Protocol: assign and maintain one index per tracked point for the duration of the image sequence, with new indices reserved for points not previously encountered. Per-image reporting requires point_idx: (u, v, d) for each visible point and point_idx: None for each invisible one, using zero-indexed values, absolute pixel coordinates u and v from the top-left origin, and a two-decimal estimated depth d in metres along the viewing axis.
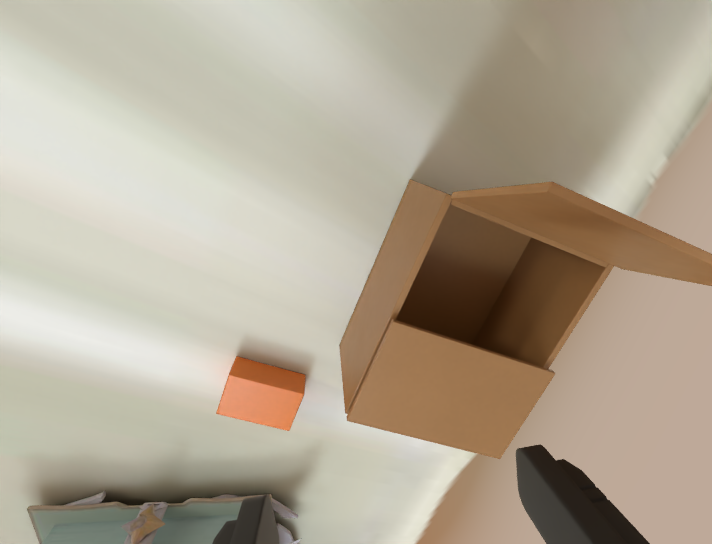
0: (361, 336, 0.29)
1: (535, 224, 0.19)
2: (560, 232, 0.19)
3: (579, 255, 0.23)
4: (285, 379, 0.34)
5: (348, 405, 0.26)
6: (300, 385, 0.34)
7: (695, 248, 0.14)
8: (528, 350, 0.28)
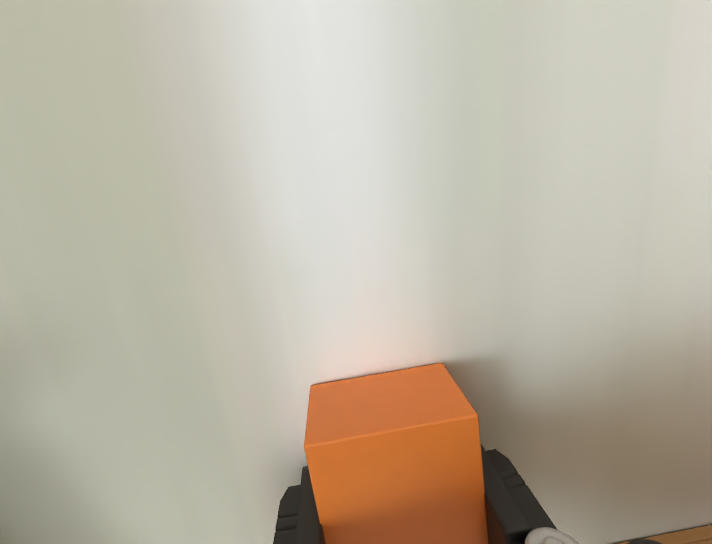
0: None
1: None
2: None
3: None
4: None
5: None
6: None
7: None
8: None
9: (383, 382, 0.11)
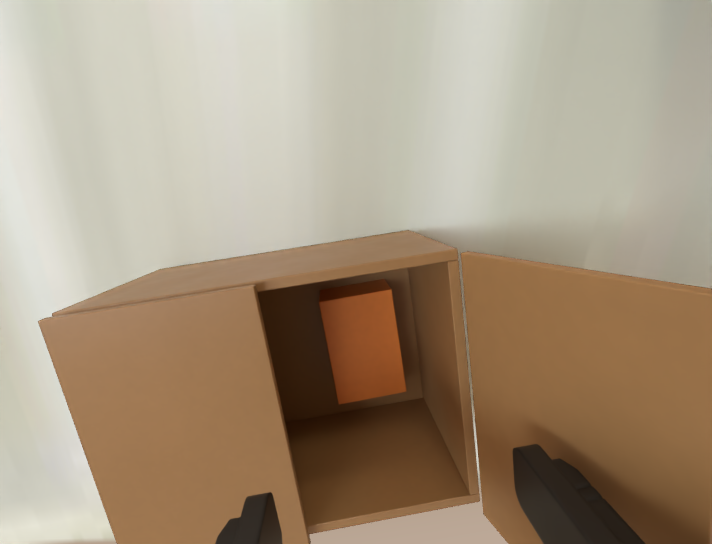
0: (194, 276, 0.19)
1: (510, 368, 0.13)
2: (523, 404, 0.13)
3: (467, 455, 0.17)
4: None
5: (68, 310, 0.15)
6: None
7: None
8: (311, 492, 0.19)
9: (354, 286, 0.24)
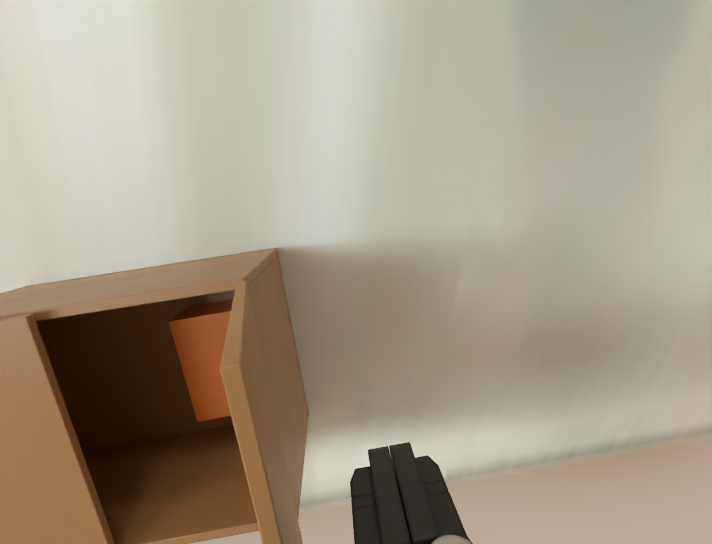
0: (22, 298, 0.19)
1: None
2: None
3: None
4: None
5: None
6: None
7: None
8: (145, 511, 0.20)
9: (218, 303, 0.24)
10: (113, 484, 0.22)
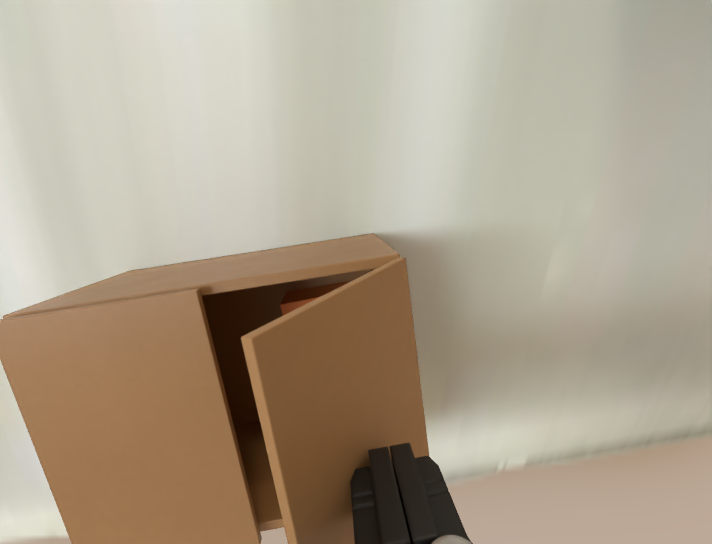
0: (152, 278, 0.19)
1: None
2: None
3: None
4: None
5: (19, 312, 0.15)
6: None
7: None
8: (268, 490, 0.20)
9: (319, 288, 0.24)
10: None
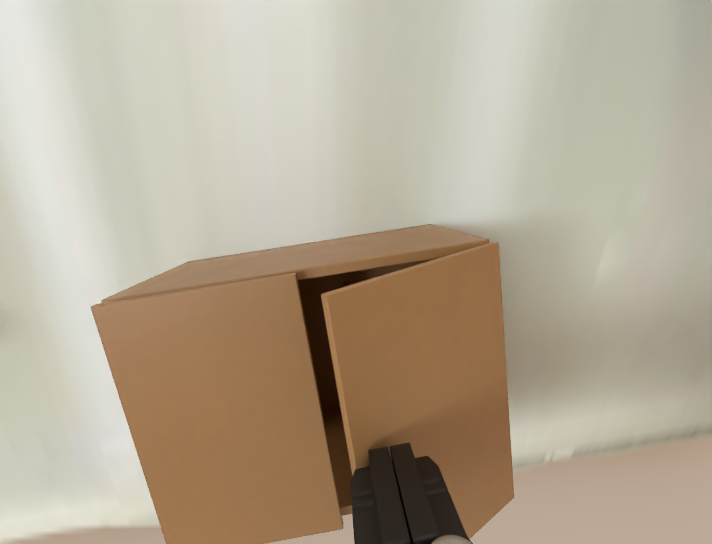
0: (229, 266, 0.19)
1: None
2: None
3: None
4: None
5: (116, 297, 0.15)
6: None
7: None
8: (340, 476, 0.20)
9: None
10: None
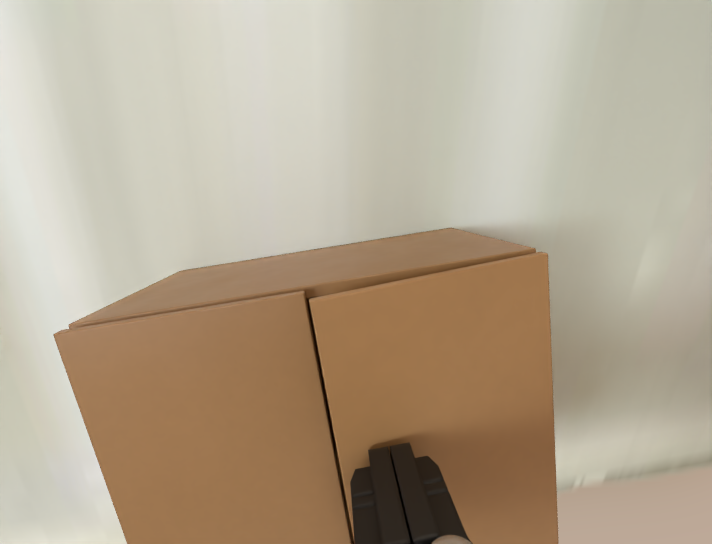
0: (224, 279, 0.16)
1: None
2: None
3: None
4: None
5: (87, 320, 0.13)
6: None
7: (344, 489, 0.12)
8: None
9: None
10: None
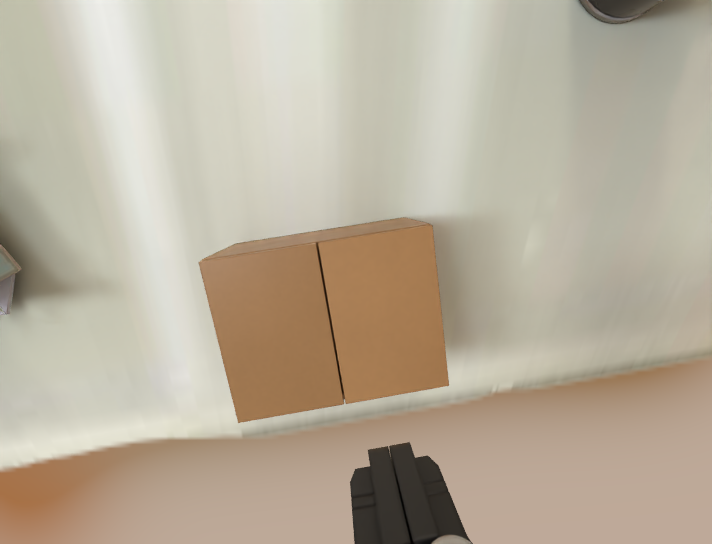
0: (270, 243, 0.30)
1: None
2: None
3: None
4: None
5: (210, 258, 0.26)
6: None
7: None
8: (341, 381, 0.31)
9: None
10: None
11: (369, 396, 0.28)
